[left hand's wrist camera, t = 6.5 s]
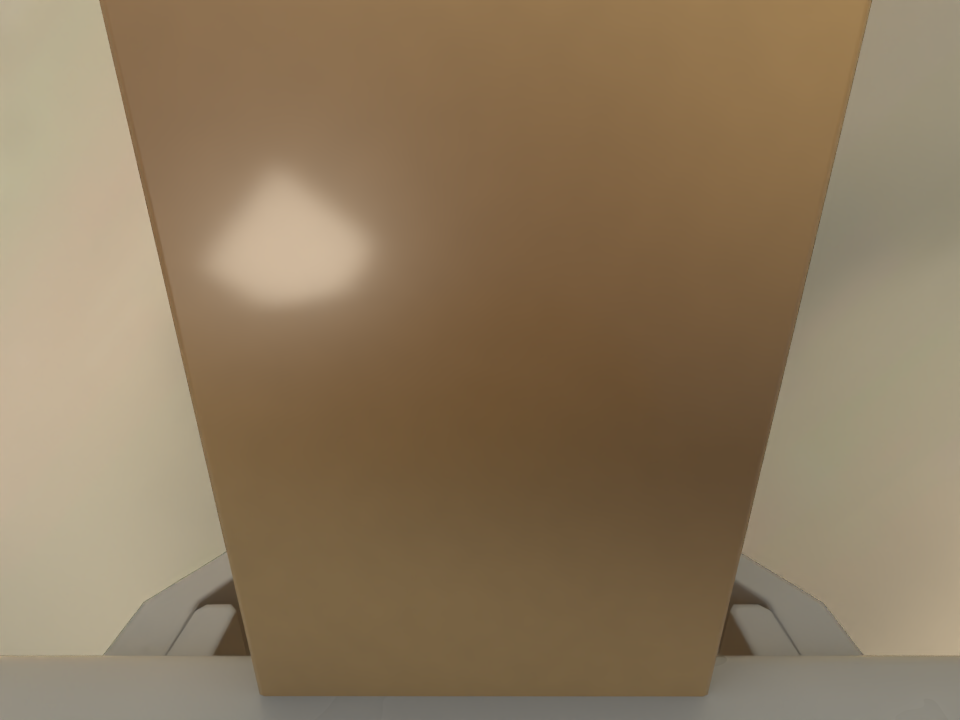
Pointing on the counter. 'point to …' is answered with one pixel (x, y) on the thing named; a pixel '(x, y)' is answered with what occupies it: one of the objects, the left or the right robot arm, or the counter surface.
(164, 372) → the counter surface
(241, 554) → the post
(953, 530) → the counter surface
